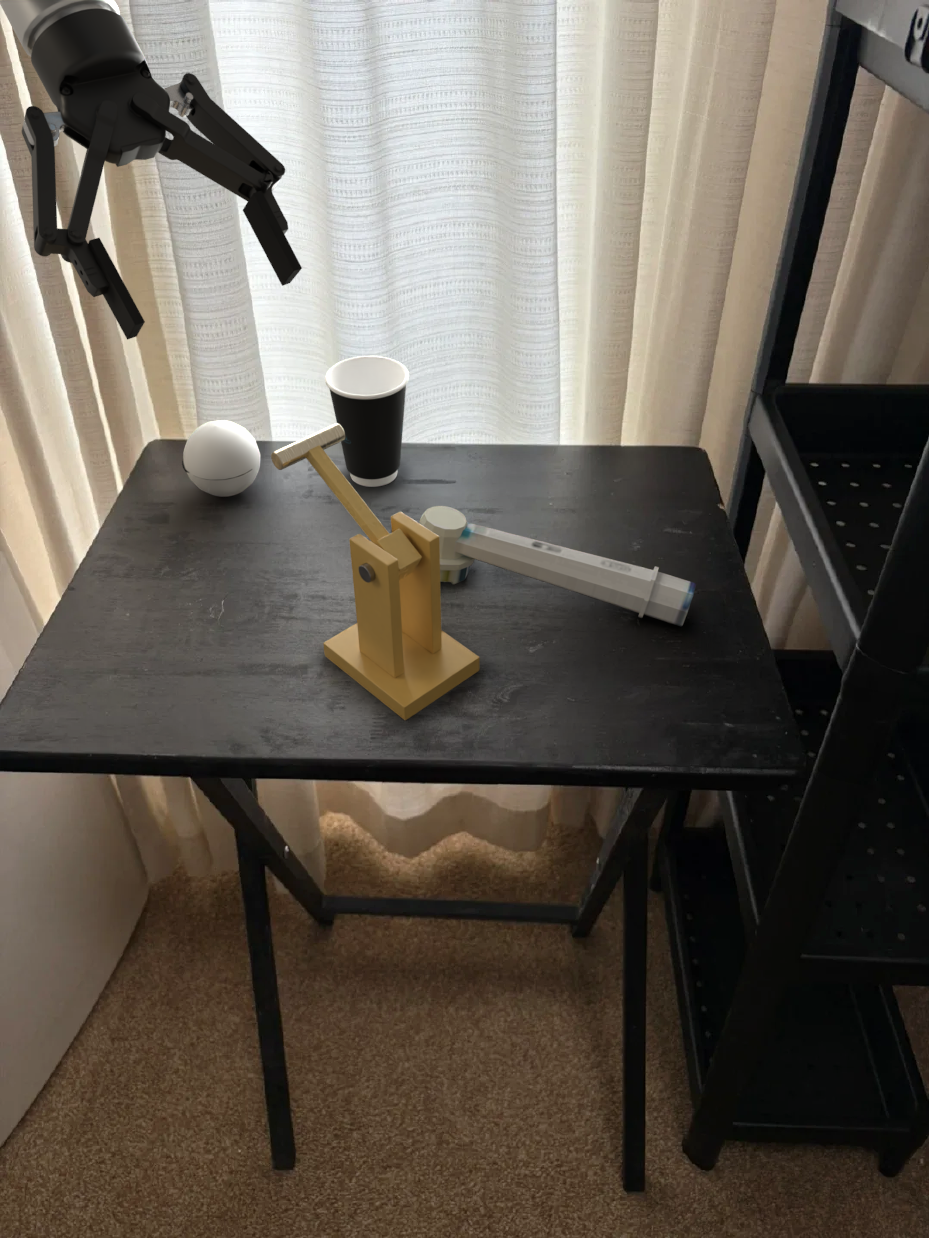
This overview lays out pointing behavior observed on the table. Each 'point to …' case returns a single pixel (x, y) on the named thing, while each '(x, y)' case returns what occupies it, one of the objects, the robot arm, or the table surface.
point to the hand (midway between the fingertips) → (217, 303)
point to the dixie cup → (370, 415)
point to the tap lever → (347, 493)
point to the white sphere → (221, 458)
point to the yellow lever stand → (400, 626)
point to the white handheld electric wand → (557, 567)
